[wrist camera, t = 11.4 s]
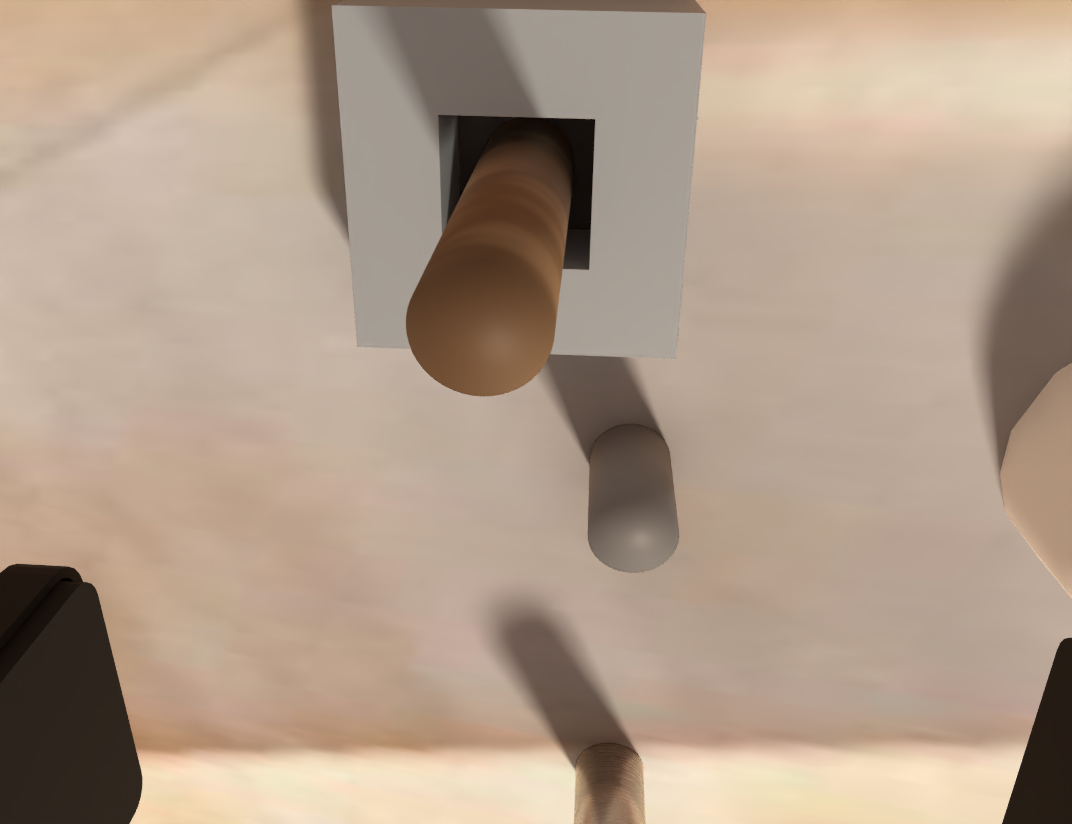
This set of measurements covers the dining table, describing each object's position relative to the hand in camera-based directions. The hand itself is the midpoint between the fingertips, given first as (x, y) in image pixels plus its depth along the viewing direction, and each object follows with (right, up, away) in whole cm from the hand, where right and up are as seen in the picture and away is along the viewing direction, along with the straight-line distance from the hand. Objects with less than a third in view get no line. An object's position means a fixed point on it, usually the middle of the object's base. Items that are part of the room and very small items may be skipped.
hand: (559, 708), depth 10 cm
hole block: (-1, +11, +22) cm, 25 cm away
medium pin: (+3, -13, +35) cm, 37 cm away
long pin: (0, +11, +22) cm, 25 cm away
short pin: (+3, +1, +27) cm, 28 cm away
